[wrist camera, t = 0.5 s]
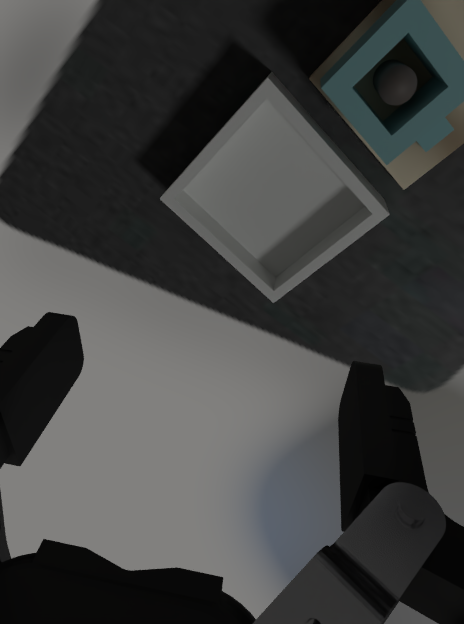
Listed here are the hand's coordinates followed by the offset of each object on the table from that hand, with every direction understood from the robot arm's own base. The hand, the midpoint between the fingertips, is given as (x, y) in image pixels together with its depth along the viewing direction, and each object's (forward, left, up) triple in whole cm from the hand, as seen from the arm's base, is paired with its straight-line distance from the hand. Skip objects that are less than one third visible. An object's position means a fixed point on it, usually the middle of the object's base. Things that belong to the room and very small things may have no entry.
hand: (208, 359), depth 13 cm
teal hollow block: (-8, +2, -23) cm, 24 cm away
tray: (+2, +2, -24) cm, 24 cm away
